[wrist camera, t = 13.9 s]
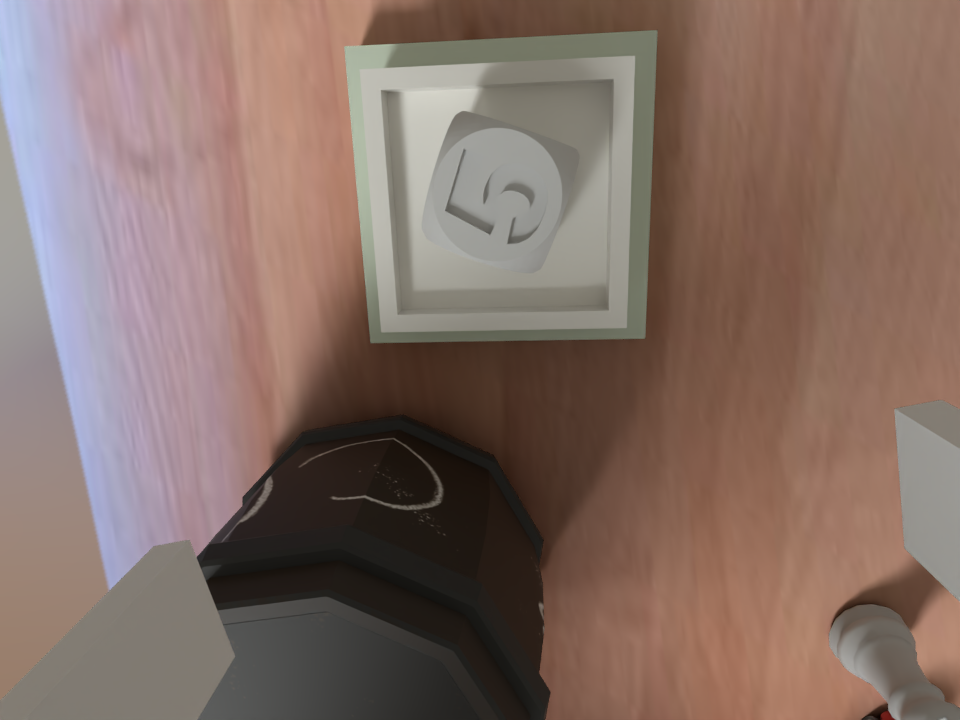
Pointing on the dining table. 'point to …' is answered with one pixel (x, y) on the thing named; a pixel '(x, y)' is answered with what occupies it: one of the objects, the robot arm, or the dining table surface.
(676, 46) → the dining table surface
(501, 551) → the black bucket
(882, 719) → the toy fire truck
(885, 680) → the rook chess piece
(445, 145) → the die
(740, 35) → the dining table surface
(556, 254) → the tower base
